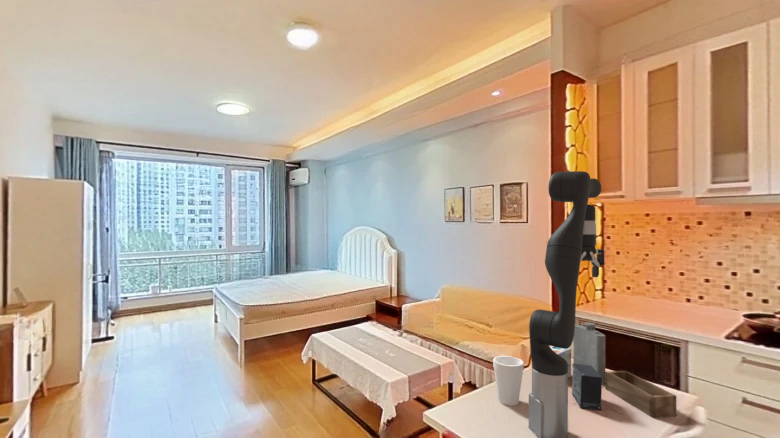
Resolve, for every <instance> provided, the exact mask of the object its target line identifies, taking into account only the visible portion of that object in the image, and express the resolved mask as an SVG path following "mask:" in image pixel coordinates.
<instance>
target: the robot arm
mask: <svg viewBox="0 0 780 438" xmlns="http://www.w3.org/2000/svg"><path fill="white" fill-rule="evenodd" d="M547 188H548V195H549V198H550V199H551V200H552V201H554V202H559V203H572V207H571V210H570V212H569V214H568V216H567V218H566V219H565V220H564V221H563V222H562V223H561V225H559V227H558V228H556V230H555V231H554V232H553V233H552V235H551V236H550V237H549V239H548V241H547V242H546V250H545V251H546V252H545V259H544V266H545V268H546V272H547V274H548V275H549V278H550V279H551V281H552V283H553V286H554V287H555V290H556V293H557V295H558V302H559V304H558V305H559V307H558V311H551V310H545V309H538V308H537V309H535V310H534V311H533V312H532V313H531V315H530V318H529V326H528V328H529V329H528V330H529V331H528V332H529V350H530V351H529V352H530V353H529V355H530V360H531V393H528V428H529V429H530V430H531V431H532V432H533V434H535V435H536V436H537V438H568V436H569V433H568V432H569V396H568V395H569V377H568V363H567V361H566V360H565V359H564V358H563V357H561V356H559V355H558V354H556V353H555V352H554V351H553V350H552V349H551V348H550V346H554V347H559V348H564V349H567V348H571V346H572V344H573V338H574V332H575V325H576V311H577V310H576V307H577V306H576V305H577V288H578V281H579V274H580V267H581V262H585V261H586V262H587V261H588V262H590V263H591V264H590V265H592V268H591V272H592V273H591V274H592V277H593V278H598V277H599V276H600V267H601V266H604V265H605V250H604V249H602V248H596V247H597V223H596V206H594V205H593V204H589V203H588V202H589V199H594V198H597V197H599V196H600V194H601V192H602V184H601V182H600V181H599V180H598V179H597V178H591V175H590V174H589V172H587V171H582V170H581V171H579V170H578V171H576V170H575V171H557V172H554V173H552V174H551V176H550V177H549V181H548V187H547Z"/></svg>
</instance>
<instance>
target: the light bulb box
mask: <svg viewBox="0 0 780 438" xmlns="http://www.w3.org/2000/svg"><path fill="white" fill-rule="evenodd" d="M549 346H550V345H549ZM550 348H551V349H552V350H553V351H554V352H555V353H556V354H558V355H559V356H561V357H563V358H564V359H565V360H566V361H567V363H568V378H570V377H572V347H569V348H567V349H564V348H559V347H554V346H550Z"/></svg>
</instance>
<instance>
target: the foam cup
mask: <svg viewBox="0 0 780 438" xmlns="http://www.w3.org/2000/svg"><path fill="white" fill-rule="evenodd" d="M492 359H493V360H492V365H493V367H492V368H493V370H494V380H495V385H496V395H497V400H498V402H499V403H500V404H502V405H504V406H505V405H506V406H510V407H511V406H517V405H518V404H519V401H520V394H521V389H522V388H521V386H522V381H523V380H522V379H523V374H524V369H525V367H524V361H523V360H522V359H520V358H519V357H515V356H509V355H498V356H495V357H494V358H492Z"/></svg>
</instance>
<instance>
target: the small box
mask: <svg viewBox="0 0 780 438" xmlns="http://www.w3.org/2000/svg"><path fill="white" fill-rule="evenodd" d="M571 367H572V389H571V394H572V397H573V398H574V400H575V401H576V403H577V405H578V406H579V408H581V409H587V410H588V409H590V410H596V411H598V410H599V411H601V410H602V388H603V387H602V386H603V385H602V377H601V376H600V375H599V374H598V372H597V371H596V370H595V369H594V368H593V367H592V366H591V365H581V364H573V363H571Z"/></svg>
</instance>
